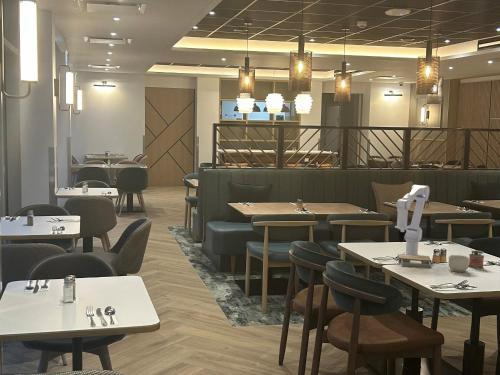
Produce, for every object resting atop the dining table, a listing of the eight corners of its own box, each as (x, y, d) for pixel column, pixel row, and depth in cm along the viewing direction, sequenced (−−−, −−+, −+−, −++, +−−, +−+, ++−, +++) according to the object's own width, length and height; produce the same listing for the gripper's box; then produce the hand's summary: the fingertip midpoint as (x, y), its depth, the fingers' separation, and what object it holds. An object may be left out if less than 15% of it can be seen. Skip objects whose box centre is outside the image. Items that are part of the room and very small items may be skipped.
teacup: (470, 273, 330) (472, 259, 329) (451, 272, 330) (452, 258, 329) (462, 267, 344) (463, 254, 343) (443, 267, 344) (444, 253, 343)
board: (397, 257, 364) (398, 253, 364) (428, 260, 361) (428, 256, 361) (399, 262, 352) (399, 258, 352) (430, 264, 349) (431, 260, 348)
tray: (400, 262, 352) (401, 259, 351) (429, 264, 349) (429, 261, 348) (401, 266, 342) (402, 262, 342) (431, 268, 339) (431, 264, 339)
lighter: (467, 267, 346) (469, 250, 345) (468, 266, 349) (470, 249, 348) (482, 269, 342) (484, 251, 341) (483, 268, 345) (484, 250, 344)
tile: (410, 262, 342) (410, 265, 342) (421, 263, 341) (421, 266, 341) (410, 260, 347) (409, 263, 347) (420, 261, 346) (420, 264, 346)
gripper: (394, 217, 366) (393, 239, 368) (396, 220, 352) (394, 243, 354) (406, 218, 365) (405, 240, 367) (408, 221, 351) (407, 244, 352)
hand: (400, 242), depth 360 cm, fingers closed
